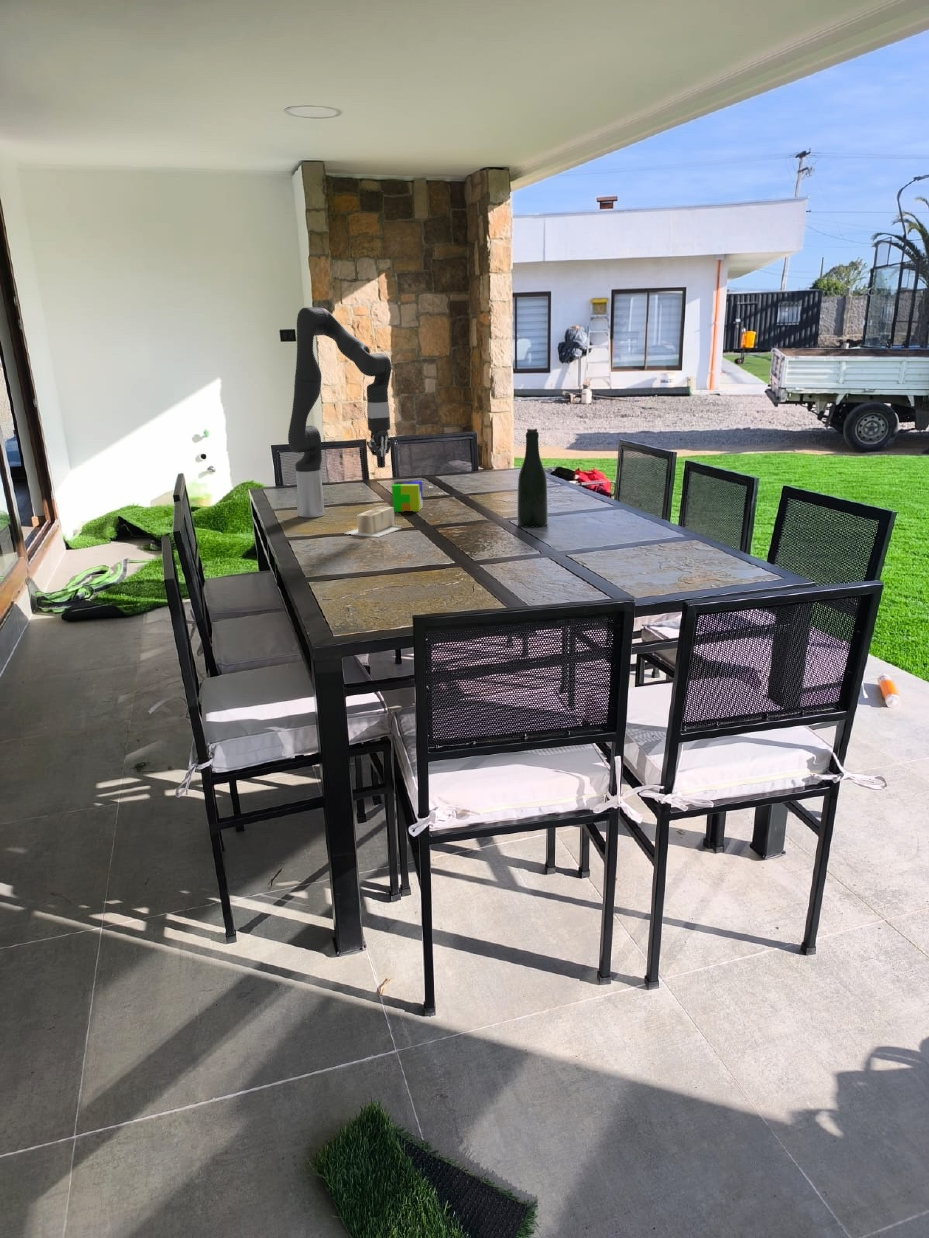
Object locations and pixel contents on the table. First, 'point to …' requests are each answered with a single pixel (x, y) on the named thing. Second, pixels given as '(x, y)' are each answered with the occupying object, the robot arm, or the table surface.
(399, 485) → the puzzle toy
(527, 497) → the green wine bottle
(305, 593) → the table surface
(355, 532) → the mat
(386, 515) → the maple block
